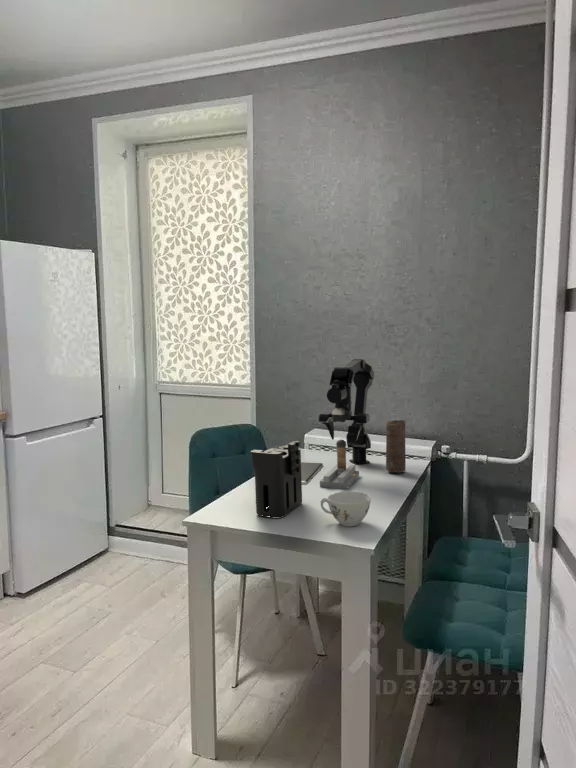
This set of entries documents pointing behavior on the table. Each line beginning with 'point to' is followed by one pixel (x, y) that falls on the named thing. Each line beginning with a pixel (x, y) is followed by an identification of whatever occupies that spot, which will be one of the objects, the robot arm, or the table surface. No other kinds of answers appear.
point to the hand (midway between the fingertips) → (344, 439)
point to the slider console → (339, 478)
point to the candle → (395, 446)
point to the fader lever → (341, 456)
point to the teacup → (348, 507)
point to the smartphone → (309, 470)
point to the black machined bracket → (277, 479)
